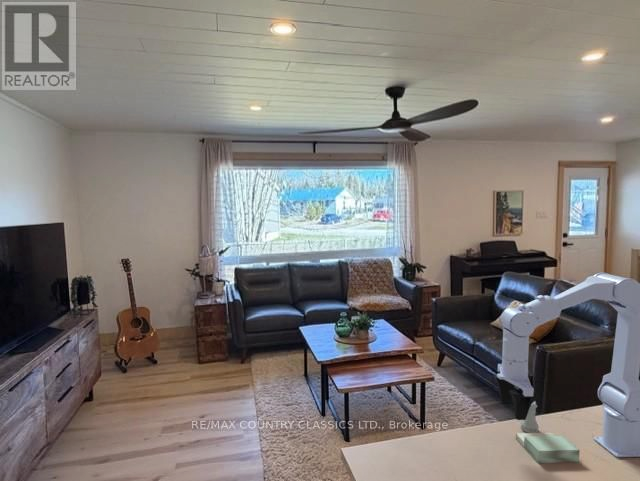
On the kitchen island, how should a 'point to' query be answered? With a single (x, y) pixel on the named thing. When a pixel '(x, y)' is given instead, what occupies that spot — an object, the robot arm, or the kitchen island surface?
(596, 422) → the kitchen island surface
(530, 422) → the rook chess piece
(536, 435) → the stepped riser
